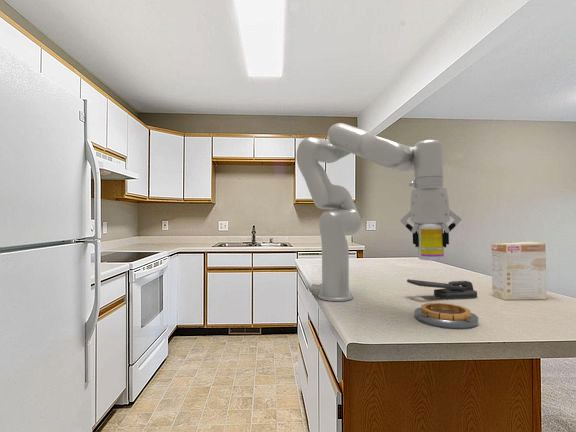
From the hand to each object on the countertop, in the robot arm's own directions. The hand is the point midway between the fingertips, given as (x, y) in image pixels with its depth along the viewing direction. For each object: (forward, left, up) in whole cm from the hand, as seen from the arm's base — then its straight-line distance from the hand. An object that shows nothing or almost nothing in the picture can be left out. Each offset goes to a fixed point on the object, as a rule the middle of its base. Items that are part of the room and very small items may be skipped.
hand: (430, 246), depth 93 cm
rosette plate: (+4, 0, -20) cm, 21 cm away
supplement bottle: (0, 0, -4) cm, 4 cm away
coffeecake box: (+29, +37, -21) cm, 51 cm away
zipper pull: (+4, +27, -21) cm, 35 cm away
